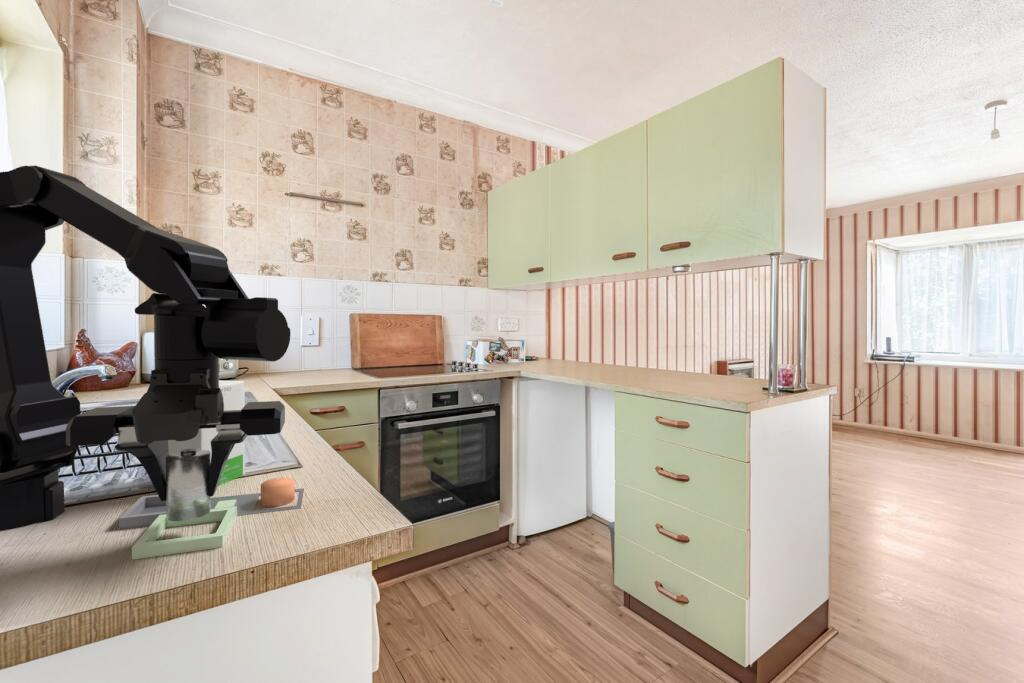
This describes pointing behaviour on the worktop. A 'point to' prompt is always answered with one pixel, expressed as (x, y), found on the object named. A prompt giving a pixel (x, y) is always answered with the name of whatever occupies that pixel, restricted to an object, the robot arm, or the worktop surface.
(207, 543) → the pale green square tray
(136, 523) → the checker plate
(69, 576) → the worktop surface
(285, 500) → the cylinder
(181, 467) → the cell
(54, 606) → the worktop surface
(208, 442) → the skincare box
